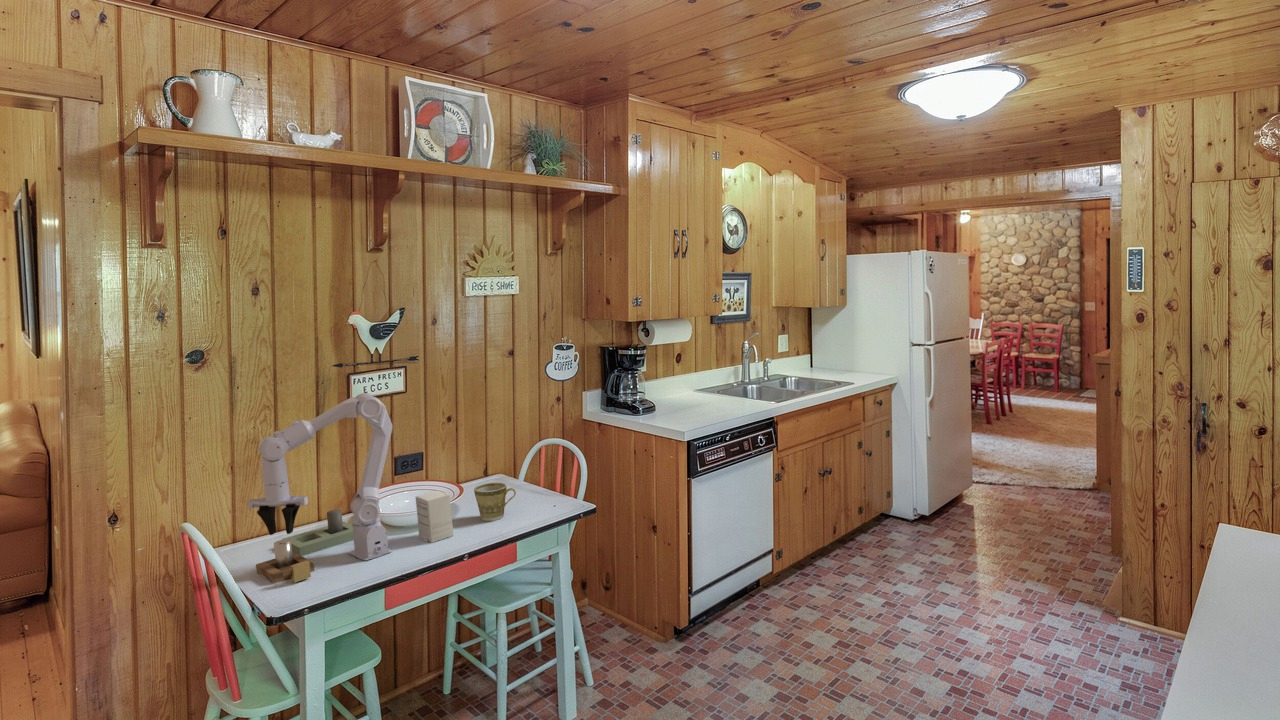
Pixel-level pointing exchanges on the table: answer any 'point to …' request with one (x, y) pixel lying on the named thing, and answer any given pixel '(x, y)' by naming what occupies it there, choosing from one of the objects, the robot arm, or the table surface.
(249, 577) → the table surface
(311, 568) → the socket holder
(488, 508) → the ceramic cup
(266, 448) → the robot arm
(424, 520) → the supplement box
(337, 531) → the tool rack
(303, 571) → the tan block with bar
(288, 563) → the steel peg
